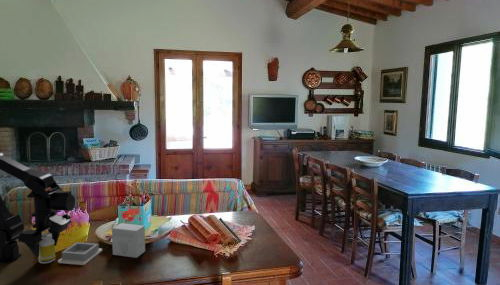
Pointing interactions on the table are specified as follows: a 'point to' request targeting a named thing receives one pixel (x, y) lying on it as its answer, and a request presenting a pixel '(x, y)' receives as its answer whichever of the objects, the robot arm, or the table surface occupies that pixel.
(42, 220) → the robot arm
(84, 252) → the collar plate
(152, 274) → the table surface
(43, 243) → the supplement bottle
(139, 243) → the skincare box
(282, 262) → the table surface
